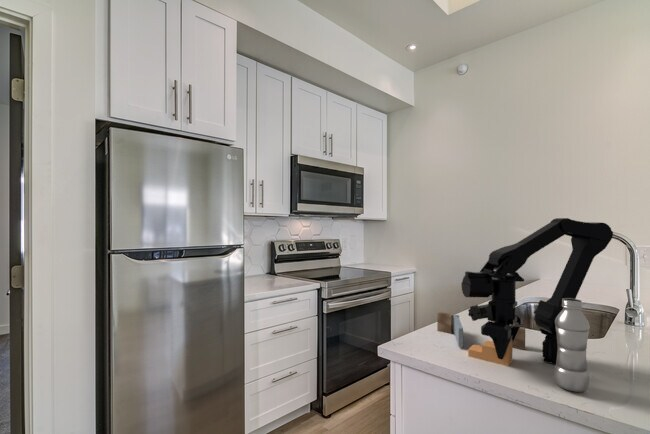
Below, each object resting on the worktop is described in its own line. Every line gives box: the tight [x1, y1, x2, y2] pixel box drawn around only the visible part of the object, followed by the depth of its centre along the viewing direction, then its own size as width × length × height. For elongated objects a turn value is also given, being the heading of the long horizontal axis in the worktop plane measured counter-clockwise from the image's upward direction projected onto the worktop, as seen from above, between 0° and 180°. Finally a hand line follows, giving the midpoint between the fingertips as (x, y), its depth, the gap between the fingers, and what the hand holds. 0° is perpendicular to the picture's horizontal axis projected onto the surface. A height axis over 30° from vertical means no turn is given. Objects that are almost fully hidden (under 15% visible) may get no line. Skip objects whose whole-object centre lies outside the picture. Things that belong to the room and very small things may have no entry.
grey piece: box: [452, 314, 464, 348], centre depth 108 cm, size 15×2×6 cm, turn 164°
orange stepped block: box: [467, 339, 513, 367], centre depth 94 cm, size 10×5×6 cm, turn 50°
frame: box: [436, 311, 526, 351], centre depth 110 cm, size 26×2×6 cm, turn 49°
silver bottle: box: [553, 298, 591, 393], centre depth 78 cm, size 6×7×20 cm
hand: (503, 355), depth 92 cm, fingers closed on orange stepped block, 5 cm apart
